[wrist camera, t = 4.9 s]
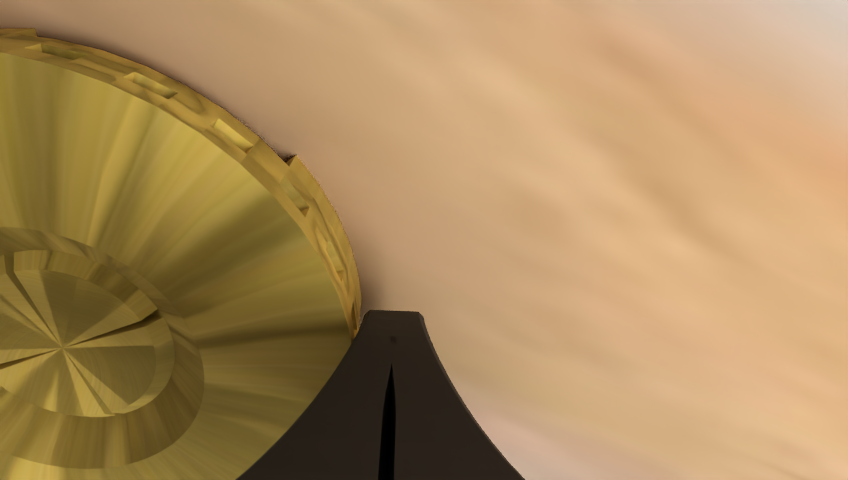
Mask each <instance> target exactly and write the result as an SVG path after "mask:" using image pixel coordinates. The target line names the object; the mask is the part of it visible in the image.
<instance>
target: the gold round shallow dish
mask: <svg viewBox="0 0 848 480" xmlns="http://www.w3.org/2000/svg"><path fill="white" fill-rule="evenodd" d="M361 301H362V298H361V290H360V283H359V276H358V270H357V267H356V263H355V260H354V257H353V253H352V250H351V246H350V243H349V240H348V238H347V236H346V234H345V231H344V229H343V227H342V225H341V222H340V220H339V218H338V216H337V213H336V212H335V210H334V208H333V207H332V205H331V203H330V202H329V200H328V198H327V197H326V195H325V193H324V192H323V190H322V189H321V187H320V185H319V184H318V182H317V181H316V180H315V179H314V177H313V176H312V175H311V173H310V172H309V171H308V170H307V168H306V167H305V166H304V164H303V163H302V162H301V161H300V159H299V158H298V157H297V156H296V155H295V156H294V157H292V158H291V159H290V160H288V161H287V162H286V163H285V162H284V161H283V160H282V159H281V158H280V157H279V156H278V155H277V154H276V153H275V152H274V151H273V150H272V149H271V148H270V147H269V146H268V145H267V144H266V143H265V142H264V141H263V140H262V139H261V138H260V137H258V136H257V135H256V134H255V133H253V132H252V131H251V130H250V129H248V128H247V127H246V126H245V125H243V124H242V123H241V122H240V121H238V120H237V119H236V118H235V117H233V116H232V115H231V114H230V113H228V112H227V111H226V110H224V109H222V108H221V107H219V106H218V105H216V104H215V103H213V102H211V101H210V100H208V99H207V98H205V97H204V96H202V95H200V94H199V93H197V92H196V91H194V90H192V89H191V88H189V87H188V86H186V85H184V84H182V83H179V82H177V81H175V80H173V79H171V78H169V77H167V76H165V75H163V74H161V73H159V72H157V71H155V70H153V69H151V68H149V67H147V66H144V65H142V64H139V63H136V62H133V61H131V60H128V59H125V58H122V57H120V56H117V55H114V54H111V53H109V52H106V51H103V50H100V49H95V48H91V47H87V46H83V45H79V44H75V43H71V42H66V41H62V40H58V39H51V38H43V37H37V34H36V30H35V28H0V480H236V479H237V478H238V477H239V476H240V475H242V474H243V473H244V472H245V471H246V470H247V469H248V468H250V467H251V466H252V465H253V464H254V463H255V462H256V461H257V460H258V459H259V458H260V457H261V456H262V455H263V454H264V453H265V452H266V451H267V450H268V449H269V448H270V447H271V446H272V445H273V444H274V443H276V442H277V441H278V440H279V439H280V438H281V437H282V435H283V434H284V433H285V432H286V431H287V430H288V429H289V428H290V427H291V426H292V425H293V423H294V422H295V421H296V420H297V419H298V418H299V417H300V416H301V414H302V413H303V412H304V411H305V410H306V408H307V407H308V406H309V405H310V404H311V402H312V401H313V400H314V398H315V397H316V396H317V394H318V393H319V392H320V390H321V389H322V388H323V386H324V385H325V384H326V382H327V381H328V380H329V378H330V377H331V375H332V374H333V373H334V371H335V370H336V368H337V366H338V365H339V363H340V362H341V360H342V358H343V357H344V355H345V354H346V352H347V351H348V349H349V347H350V345H351V344H352V342H353V340H354V338H355V336H356V334H357V332H358V330H359V315H360V308H361Z"/></svg>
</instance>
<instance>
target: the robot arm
mask: <svg viewBox="0 0 848 480" xmlns="http://www.w3.org/2000/svg"><path fill="white" fill-rule="evenodd" d="M236 480H525V479H524V478H523V477H522V476H521V475H520V474H519V473H518V472H517V471H516V470H515V468H514V467H513V466H512V465H511V464H510V463H509V462H508V461H507V460H506V458H505V457H504V456H503V455H502V454H501V452H500V451H499V450H498V449H497V448H496V446H495V445H494V444H493V443H492V441H491V440H490V439H489V438H488V436H487V435H486V434H485V432H484V431H483V430H482V428H481V427H480V426H479V424H478V423H477V421H476V420H475V419H474V417H473V416H472V414H471V413H470V411H469V410H468V408H467V407H466V405H465V404H464V402H463V400H462V399H461V397H460V396H459V394H458V392H457V391H456V389H455V387H454V386H453V384H452V382H451V380H450V378H449V377H448V375H447V373H446V371H445V369H444V367H443V365H442V363H441V362H440V360H439V357H438V355H437V353H436V351H435V349H434V347H433V344H432V342H431V340H430V337H429V334H428V332H427V329H426V326H425V322H424V318H423V316H422V315H421V314H420V313H419V312H410V311H384V310H370V311H369V312H367V313H366V314H365V316H364V319H363V322H362V324H361V326H360V328H359V330H358V332H357V334H356V336H355V338H354V340H353V342H352V344H351V345H350V347H349V349H348V351H347V352H346V354H345V355H344V357H343V358H342V360H341V362H340V363H339V365H338V366H337V368H336V370H335V371H334V373H333V374H332V375H331V377H330V378H329V380H328V381H327V382H326V384H325V385H324V386H323V388H322V389H321V390H320V392H319V393H318V394H317V396H316V397H315V398H314V400H313V401H312V402H311V404H310V405H309V406H308V407H307V408H306V410H305V411H304V412H303V413H302V414H301V416H300V417H299V418H298V419H297V420H296V421H295V422H294V423H293V425H292V426H291V427H290V428H289V429H288V430H287V431H286V432H285V433H284V434H283V435H282V437H281V438H280V439H279V440H278V441H277V442H276V443H274V444H273V445H272V446H271V447H270V448H269V449H268V450H267V451H266V452H265V453H264V454H263V455H262V456H261V457H260V458H259V459H258V460H257V461H256V462H255V463H254V464H253V465H252V466H251V467H250V468H248V469H247V470H246V471H245V472H244V473H243V474H242V475H240V476H239V477H238V478H237V479H236Z"/></svg>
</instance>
